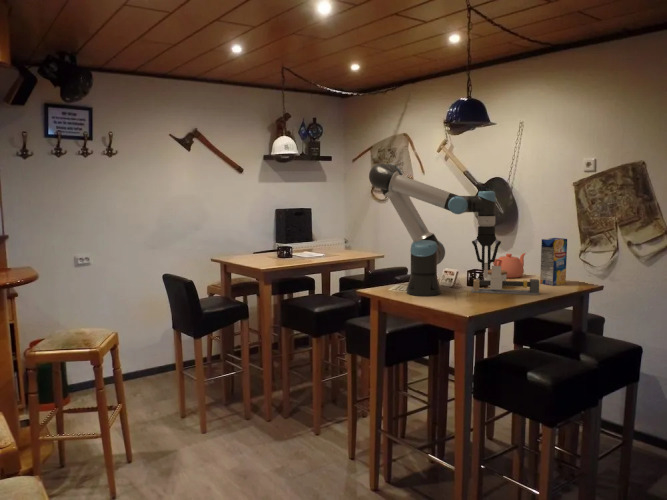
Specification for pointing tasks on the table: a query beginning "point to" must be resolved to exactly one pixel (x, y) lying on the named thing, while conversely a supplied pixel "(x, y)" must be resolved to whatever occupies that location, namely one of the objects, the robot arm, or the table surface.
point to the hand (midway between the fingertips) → (485, 277)
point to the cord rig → (532, 284)
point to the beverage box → (553, 261)
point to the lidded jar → (503, 275)
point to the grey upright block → (496, 278)
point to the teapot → (511, 265)
